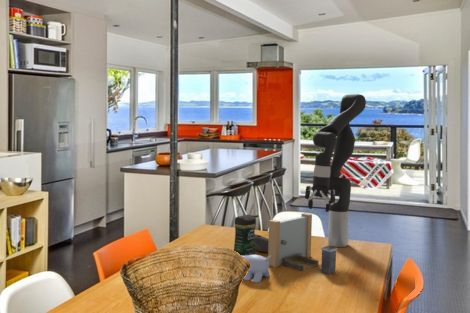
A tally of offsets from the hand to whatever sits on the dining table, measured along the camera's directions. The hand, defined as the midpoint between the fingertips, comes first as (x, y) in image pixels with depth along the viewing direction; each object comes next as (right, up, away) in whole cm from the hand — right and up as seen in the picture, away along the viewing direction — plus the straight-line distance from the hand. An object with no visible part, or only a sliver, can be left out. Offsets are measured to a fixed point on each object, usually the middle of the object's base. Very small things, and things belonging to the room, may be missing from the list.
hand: (318, 210), depth 213 cm
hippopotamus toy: (-32, -22, -34) cm, 51 cm away
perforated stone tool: (-26, -19, 0) cm, 32 cm away
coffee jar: (-34, -20, -8) cm, 41 cm away
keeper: (-11, -21, -20) cm, 31 cm away
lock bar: (-1, -22, -28) cm, 35 cm away
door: (-15, -20, -13) cm, 28 cm away
